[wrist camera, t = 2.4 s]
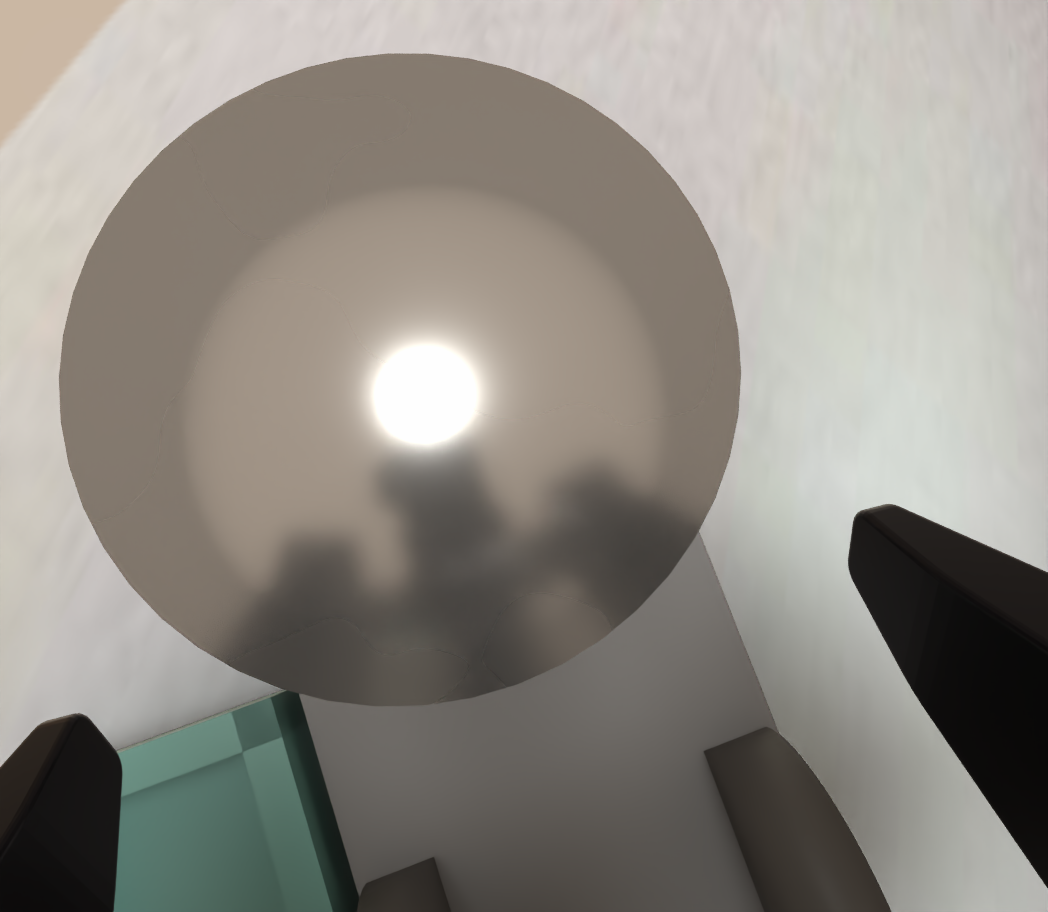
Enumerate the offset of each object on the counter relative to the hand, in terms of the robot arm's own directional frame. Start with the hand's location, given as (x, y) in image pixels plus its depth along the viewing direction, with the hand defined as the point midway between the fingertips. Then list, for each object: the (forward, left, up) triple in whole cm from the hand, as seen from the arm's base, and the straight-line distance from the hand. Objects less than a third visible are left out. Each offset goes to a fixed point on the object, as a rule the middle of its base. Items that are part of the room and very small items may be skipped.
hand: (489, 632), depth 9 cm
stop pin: (+2, 0, -10) cm, 10 cm away
